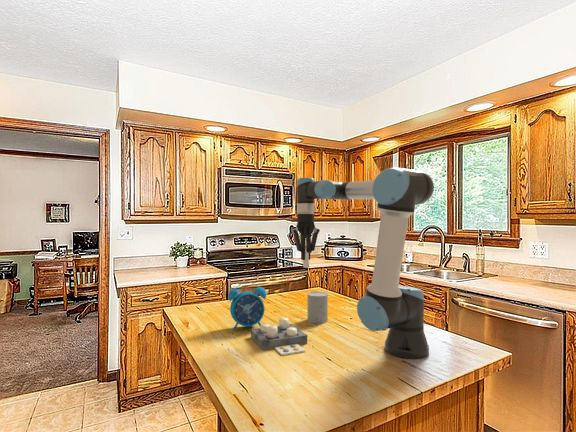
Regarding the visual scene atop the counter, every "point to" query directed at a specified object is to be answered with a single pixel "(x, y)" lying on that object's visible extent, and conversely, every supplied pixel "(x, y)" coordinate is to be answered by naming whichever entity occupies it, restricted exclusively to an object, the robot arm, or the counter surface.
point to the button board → (278, 338)
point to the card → (289, 349)
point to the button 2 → (272, 331)
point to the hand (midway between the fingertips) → (305, 267)
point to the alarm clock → (247, 306)
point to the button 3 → (284, 323)
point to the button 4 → (291, 331)
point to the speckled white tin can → (317, 307)
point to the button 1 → (264, 328)
